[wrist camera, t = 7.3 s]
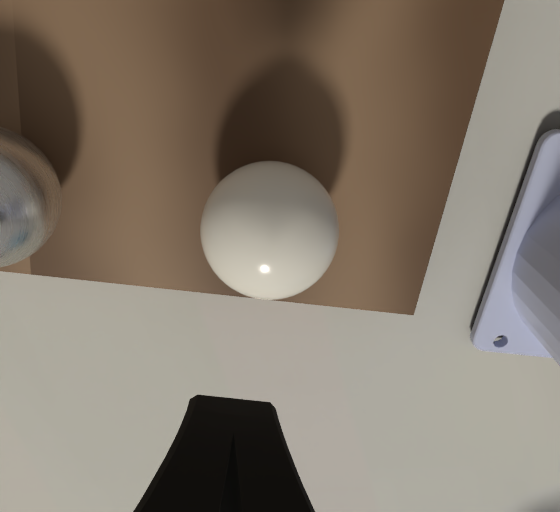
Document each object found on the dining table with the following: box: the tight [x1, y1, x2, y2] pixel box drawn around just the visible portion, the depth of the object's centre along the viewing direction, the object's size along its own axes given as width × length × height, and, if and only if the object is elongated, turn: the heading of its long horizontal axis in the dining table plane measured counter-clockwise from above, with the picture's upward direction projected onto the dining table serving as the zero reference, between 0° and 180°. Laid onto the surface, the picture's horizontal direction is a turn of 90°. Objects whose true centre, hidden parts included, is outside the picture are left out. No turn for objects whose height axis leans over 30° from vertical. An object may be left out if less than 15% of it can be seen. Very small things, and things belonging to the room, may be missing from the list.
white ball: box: [200, 161, 339, 300], centre depth 13 cm, size 4×4×4 cm
